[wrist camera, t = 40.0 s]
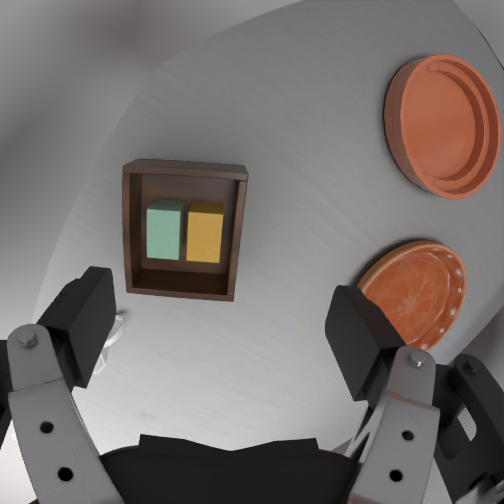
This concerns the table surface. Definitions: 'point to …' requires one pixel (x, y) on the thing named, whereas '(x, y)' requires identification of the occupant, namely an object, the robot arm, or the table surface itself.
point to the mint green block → (165, 229)
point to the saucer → (418, 290)
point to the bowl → (443, 125)
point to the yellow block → (204, 232)
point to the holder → (184, 189)
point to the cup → (109, 341)
